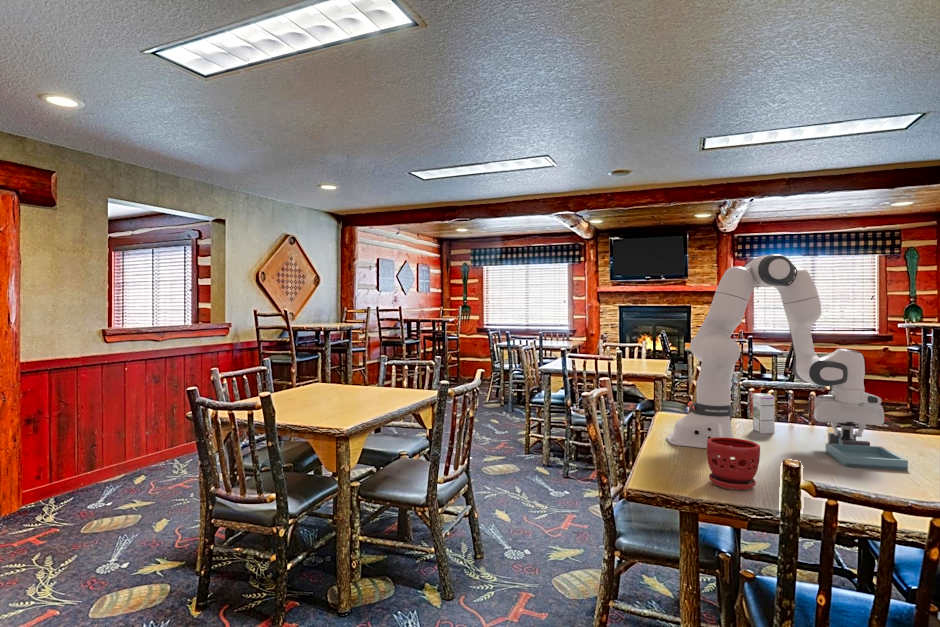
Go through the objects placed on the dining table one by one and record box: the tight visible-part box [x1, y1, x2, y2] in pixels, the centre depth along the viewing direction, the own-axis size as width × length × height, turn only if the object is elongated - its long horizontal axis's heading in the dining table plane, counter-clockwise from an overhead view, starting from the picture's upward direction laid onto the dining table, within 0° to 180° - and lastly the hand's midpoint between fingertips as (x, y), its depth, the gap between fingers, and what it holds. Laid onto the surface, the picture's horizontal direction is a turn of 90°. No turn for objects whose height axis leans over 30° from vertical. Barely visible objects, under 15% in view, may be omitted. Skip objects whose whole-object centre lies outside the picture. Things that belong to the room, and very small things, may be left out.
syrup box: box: [752, 392, 775, 434], centre depth 208 cm, size 6×6×14 cm
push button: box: [838, 422, 857, 444], centre depth 185 cm, size 7×5×10 cm
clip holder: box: [827, 432, 871, 446], centre depth 185 cm, size 8×12×4 cm, turn 165°
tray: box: [825, 443, 909, 471], centre depth 169 cm, size 16×16×3 cm
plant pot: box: [706, 437, 761, 491], centre depth 148 cm, size 13×13×12 cm
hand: (847, 436), depth 185 cm, fingers closed on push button, 5 cm apart
